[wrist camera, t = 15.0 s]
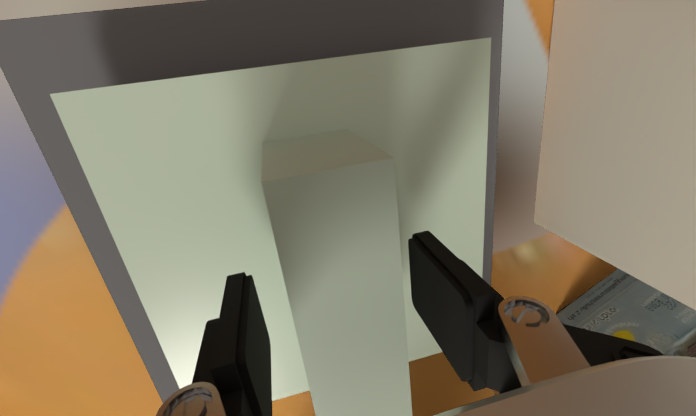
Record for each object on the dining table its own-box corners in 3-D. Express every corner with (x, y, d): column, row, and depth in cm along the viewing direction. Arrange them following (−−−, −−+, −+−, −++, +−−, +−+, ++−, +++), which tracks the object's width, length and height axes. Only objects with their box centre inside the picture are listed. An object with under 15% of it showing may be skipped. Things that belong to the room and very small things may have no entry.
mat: (499, -27, 15) (505, -29, 15) (485, 324, 23) (488, 328, 22) (-13, 24, 12) (-21, 22, 11) (172, 413, 20) (171, 419, 19)
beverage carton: (638, 245, 24) (762, 300, 18) (682, 377, 32) (777, 446, 26) (548, 312, 24) (640, 388, 18) (613, 427, 32) (692, 506, 26)
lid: (453, 43, 15) (617, 15, 8) (453, 309, 21) (550, 427, 14) (91, 90, 13) (-120, 107, 6) (204, 376, 19) (167, 559, 12)
